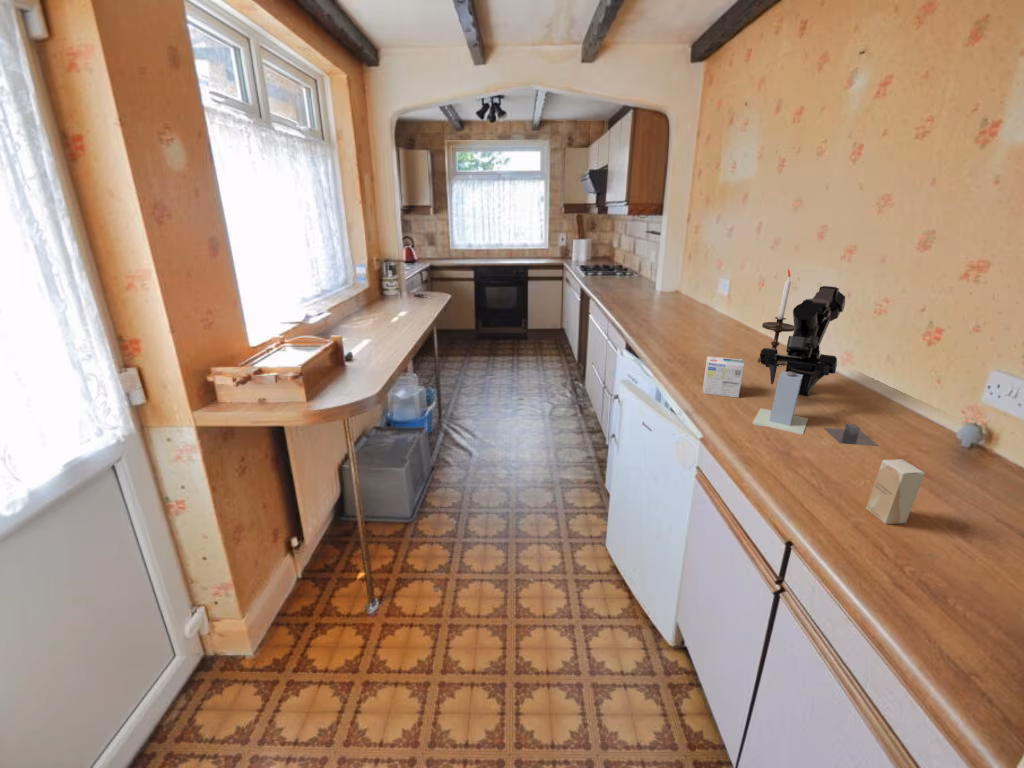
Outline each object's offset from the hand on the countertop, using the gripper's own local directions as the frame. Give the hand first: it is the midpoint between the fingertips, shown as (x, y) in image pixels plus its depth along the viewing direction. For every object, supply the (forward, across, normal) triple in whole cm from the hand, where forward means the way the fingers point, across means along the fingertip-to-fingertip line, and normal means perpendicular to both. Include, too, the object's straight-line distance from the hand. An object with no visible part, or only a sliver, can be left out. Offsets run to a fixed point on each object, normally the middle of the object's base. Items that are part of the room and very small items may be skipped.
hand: (789, 386), depth 136 cm
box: (+36, +26, -24) cm, 50 cm away
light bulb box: (+2, -20, +8) cm, 22 cm away
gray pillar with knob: (+11, 0, -1) cm, 11 cm away
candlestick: (-29, -15, +42) cm, 53 cm away
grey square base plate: (+11, +16, +1) cm, 20 cm away
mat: (+11, 0, 0) cm, 11 cm away
